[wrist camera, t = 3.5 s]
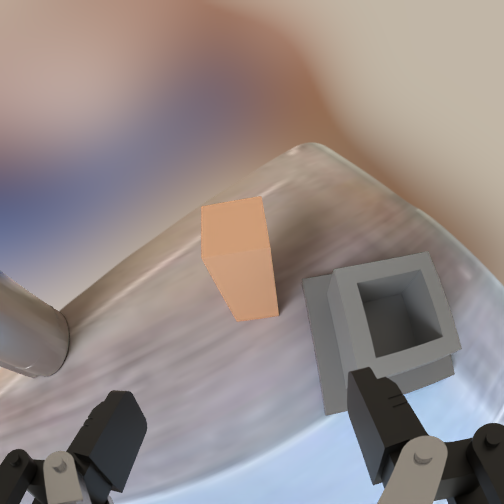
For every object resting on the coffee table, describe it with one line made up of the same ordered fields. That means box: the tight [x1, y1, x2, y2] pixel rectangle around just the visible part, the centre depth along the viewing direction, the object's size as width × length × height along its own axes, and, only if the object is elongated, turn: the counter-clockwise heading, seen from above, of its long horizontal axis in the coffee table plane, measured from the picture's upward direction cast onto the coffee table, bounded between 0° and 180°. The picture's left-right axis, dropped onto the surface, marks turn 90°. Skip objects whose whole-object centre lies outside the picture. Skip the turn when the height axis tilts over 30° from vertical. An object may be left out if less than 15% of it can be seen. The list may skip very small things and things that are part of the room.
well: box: [302, 251, 462, 415], centre depth 21 cm, size 13×13×6 cm
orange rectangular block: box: [201, 196, 279, 322], centre depth 22 cm, size 4×4×12 cm
